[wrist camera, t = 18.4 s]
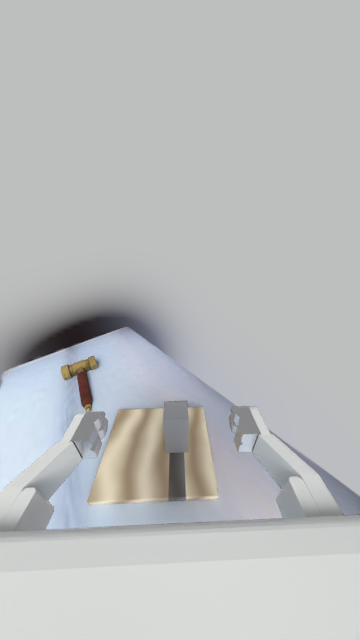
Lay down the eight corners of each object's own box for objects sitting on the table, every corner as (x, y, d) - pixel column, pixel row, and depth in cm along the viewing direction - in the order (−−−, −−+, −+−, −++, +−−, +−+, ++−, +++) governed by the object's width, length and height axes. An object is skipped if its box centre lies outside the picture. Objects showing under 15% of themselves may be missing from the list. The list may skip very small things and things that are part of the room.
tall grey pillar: (186, 432, 35) (187, 399, 30) (188, 452, 32) (188, 419, 27) (166, 432, 35) (164, 400, 30) (166, 453, 32) (162, 419, 27)
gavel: (107, 396, 42) (63, 417, 37) (110, 406, 45) (69, 428, 39) (93, 353, 57) (60, 364, 52) (96, 362, 59) (64, 373, 54)
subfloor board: (202, 410, 41) (203, 406, 41) (217, 498, 27) (218, 495, 26) (119, 413, 41) (118, 409, 40) (89, 504, 27) (87, 501, 26)
